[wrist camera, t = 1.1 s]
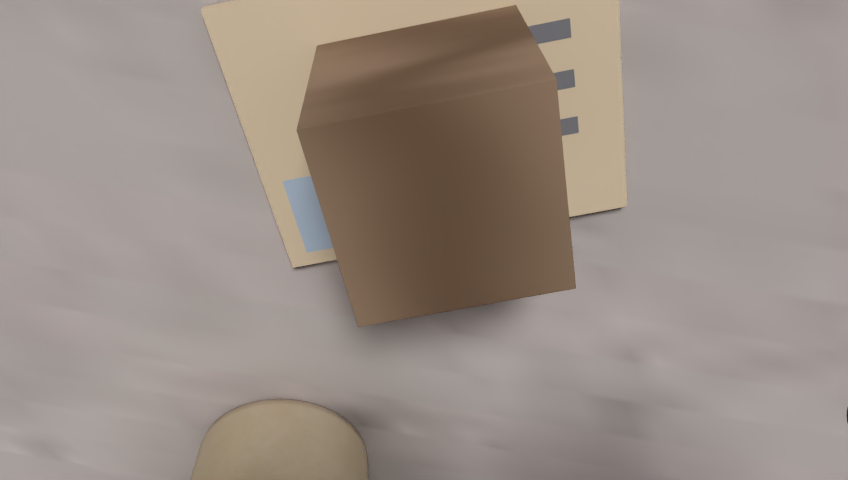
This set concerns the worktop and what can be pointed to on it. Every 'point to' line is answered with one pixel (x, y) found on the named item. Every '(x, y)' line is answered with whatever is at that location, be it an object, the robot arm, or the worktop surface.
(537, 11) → the letter
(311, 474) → the candle
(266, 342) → the worktop surface
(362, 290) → the block
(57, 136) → the worktop surface
